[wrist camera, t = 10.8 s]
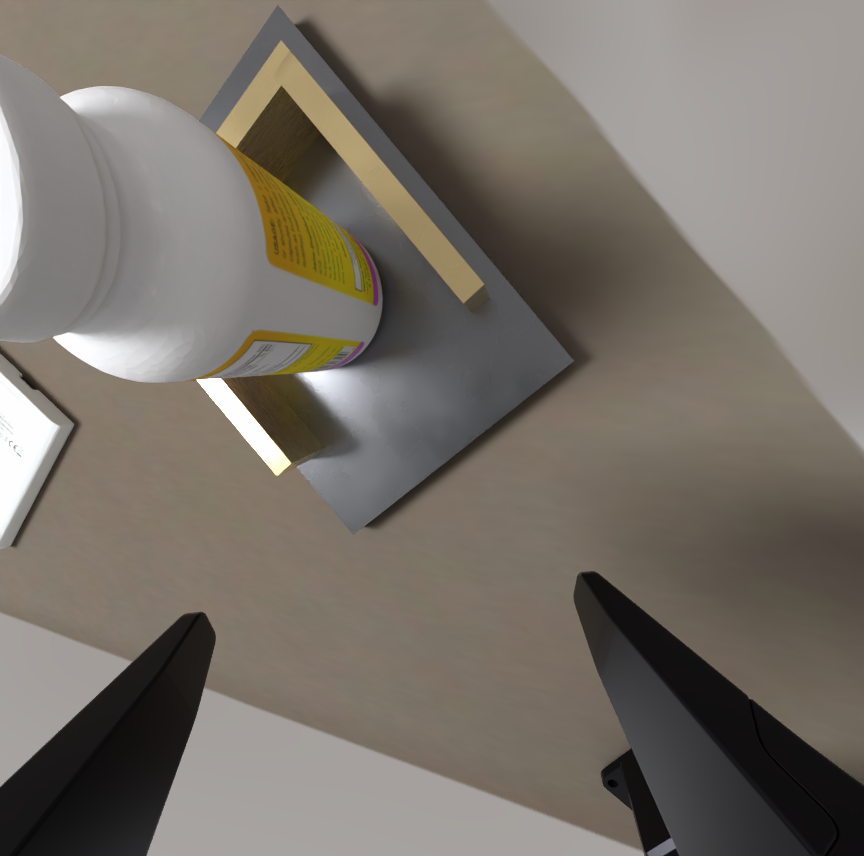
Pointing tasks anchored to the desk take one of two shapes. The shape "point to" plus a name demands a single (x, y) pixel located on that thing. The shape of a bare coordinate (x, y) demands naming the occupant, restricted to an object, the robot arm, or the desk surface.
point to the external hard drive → (25, 447)
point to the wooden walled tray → (401, 289)
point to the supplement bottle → (165, 244)
